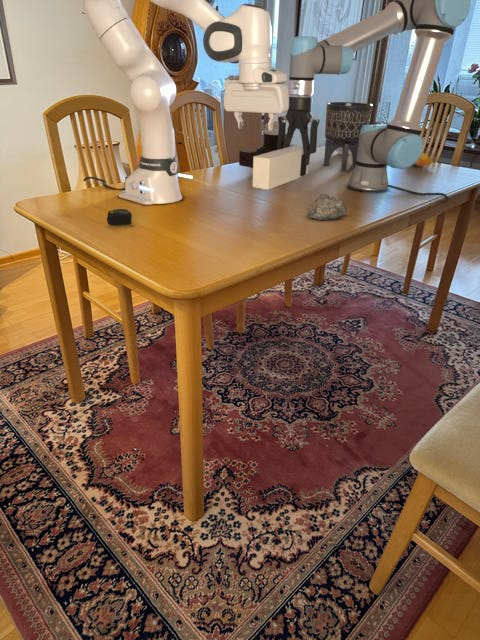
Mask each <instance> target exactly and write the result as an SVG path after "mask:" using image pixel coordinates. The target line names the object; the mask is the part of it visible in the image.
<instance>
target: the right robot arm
mask: <svg viewBox="0 0 480 640" xmlns="http://www.w3.org/2000/svg"><path fill="white" fill-rule="evenodd" d="M471 2H472V1H471V0H393V1H390V2H389V3H388V4H387V6H386V7H385V8H384V9H383V10H380V11H378V12H376V13H375V14H372V15H371V16H369V17H366V18H364V19H362V20H361V21H359V22H356V23H354V24H352V25H350V26H348V27H346V28H345V29H342V30H340V31H338V32H337V33H334V34H332V35H329V37H326V38H324V39H323V40H321V41H318V38H317V37H316V36H294V37H293V38H292V40H291V44H290V45H291V46H290V53H289V75H288V76H289V77H288V79H289V80H288V91H289V109H288V110H287V112H286V114H285V115H281V116H278V117H277V121H278V122H279V131H278V142H277V149H278V150H279V149H283V148H287V147H289V146H290V144H291V143H292V141H293V138H294V134H295V131H296V130H299V133H300V138H301V143H302V146H303V150H304V154H303V155H302V157H301V169H300V176H302V177H304V175H305V176H307V175H306V166H307V165H308V166H309V165H310V159H311V155H312V154H315V153H316V152H317V143H318V142H317V141H318V128H319V124H320V121H321V120H320V119H318V118H317V119H316V118H314V117H313V115H312V110H313V109H312V108H313V97H312V96H313V95H314V84H315V76H316V75H338V76H339V75H346V74H348V73H349V72H350V71H351V69H352V68H353V64H354V56H355V55H354V54H355V53H356V52H358V51H361V50H362V49H364V48H366V47H369V46H371V45H373V44H374V43H377V42H378V41H381V40H382V39H384V38H386V37H388V36H391V35H397V36H398V35H400V34H402V33H404V32H407V31H412V30H414V33H415V36H416V39H417V40H416V43H415V46H414V50H413V53H412V56H411V60H410V63H409V66H408V69H407V73H406V76H405V80H404V83H403V86H402V90H401V93H400V97H399V99H398V100H399V101H398V103H397V107H396V110H395V114H394V117H393V119H392V120H390V121H388V123H387V124H369V125H364V126H362V128H361V131H360V135H359V144H358V151H357V158H356V165H355V166H354V167H353V171H351V174H350V176H349V179H348V180H347V181H348V182H347V187H348V188H349V189H351V190H354V191H358V192H363V193H364V192H365V193H382V192H386V191H388V189H389V188H391V189H393V190H398V191H401V192H405V193H408V194H412V195H416V196H441V197H444V198H445V199H446V200H450V197H449V196H448V194H446V193H444V192H417V191H415V190H414V191H413V190H410V189H406V188H402V187H399V186H396V185H391V184H389V178H388V173H387V172H388V171H387V166H388V167H390V168H391V169H398V170H405V169H408V168H411V167H412V166H413V165H416V164H415V163H416V162H417V160H418V159H419V158H420V156H421V154H422V153H423V151H424V143H423V139H422V138H421V135H422V131H423V129H422V127H421V125H420V122H421V120H422V116H423V113H424V110H425V107H426V104H427V101H428V97H429V95H430V92H431V88H432V85H433V83H434V79H435V76H436V72H437V70H438V67H439V64H440V60H441V57H442V54H443V50H444V48H445V45H446V43H447V42H448V41H449V40H452V38H453V36H454V33H455V31H456V28H457V27H459V26H461V25H462V23H463V22H465V20H466V19H467V17H468V16H469V13H470V10H471ZM287 123H288V126H287ZM308 125H310V130H309V126H308ZM286 129H287V134H286V138H285V130H286ZM309 131H310V133H309ZM284 140H285V141H284Z"/></svg>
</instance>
